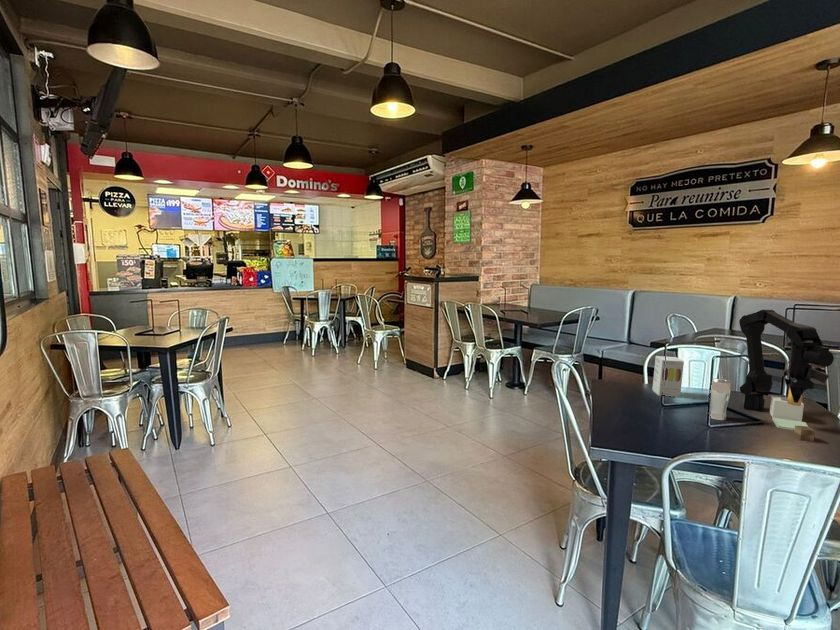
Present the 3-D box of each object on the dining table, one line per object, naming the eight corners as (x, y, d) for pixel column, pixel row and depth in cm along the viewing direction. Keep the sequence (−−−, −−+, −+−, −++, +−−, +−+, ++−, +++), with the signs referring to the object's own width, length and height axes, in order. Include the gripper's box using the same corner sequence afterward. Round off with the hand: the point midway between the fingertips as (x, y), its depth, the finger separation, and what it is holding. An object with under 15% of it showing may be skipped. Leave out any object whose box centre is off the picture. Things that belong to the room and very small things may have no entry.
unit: (772, 417, 181) (774, 399, 180) (769, 412, 187) (771, 394, 186) (802, 422, 176) (805, 403, 175) (798, 416, 182) (800, 398, 181)
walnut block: (800, 440, 159) (801, 429, 158) (793, 436, 163) (794, 425, 162) (813, 441, 158) (814, 430, 157) (806, 437, 162) (808, 426, 161)
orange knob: (788, 404, 170) (790, 389, 169) (786, 401, 174) (788, 386, 173) (802, 406, 168) (804, 390, 168) (799, 403, 172) (801, 387, 171)
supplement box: (658, 396, 207) (661, 359, 204) (651, 390, 216) (654, 355, 213) (681, 397, 205) (684, 360, 203) (673, 391, 214) (676, 356, 212)
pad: (777, 427, 170) (777, 425, 170) (772, 419, 179) (772, 417, 179) (811, 433, 165) (812, 431, 165) (804, 424, 174) (805, 422, 174)
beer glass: (725, 416, 182) (729, 379, 180) (729, 422, 175) (733, 384, 173) (705, 413, 185) (709, 377, 183) (708, 419, 178) (711, 381, 176)
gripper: (836, 368, 157) (830, 412, 159) (820, 357, 173) (815, 397, 175) (795, 364, 162) (789, 406, 164) (783, 354, 178) (779, 392, 180)
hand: (794, 400), depth 171 cm, fingers closed on orange knob, 4 cm apart
